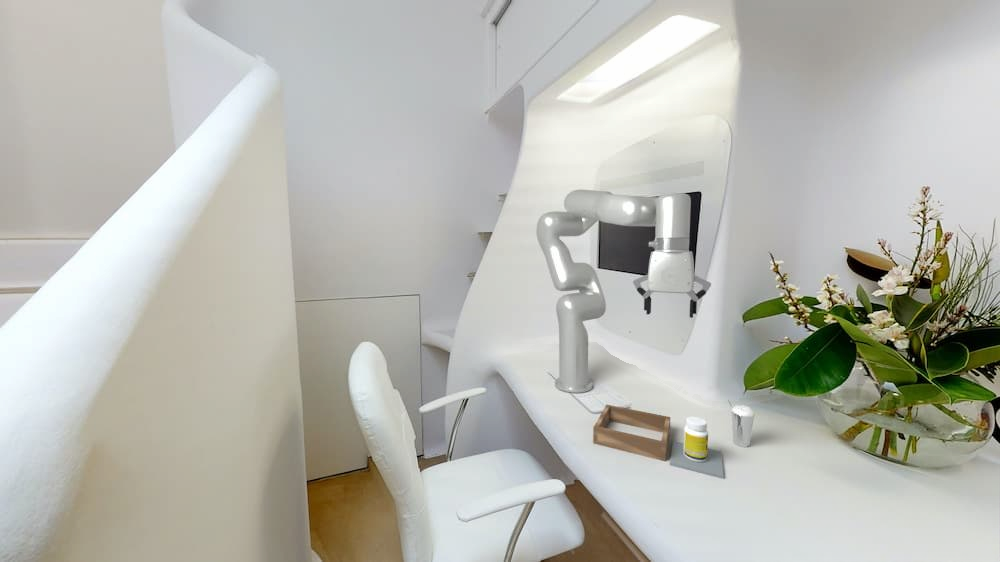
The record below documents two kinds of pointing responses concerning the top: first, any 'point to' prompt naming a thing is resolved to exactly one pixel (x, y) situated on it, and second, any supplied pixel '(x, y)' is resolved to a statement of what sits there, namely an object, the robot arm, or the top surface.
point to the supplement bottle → (695, 439)
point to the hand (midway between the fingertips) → (669, 315)
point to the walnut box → (631, 441)
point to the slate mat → (708, 467)
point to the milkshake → (742, 424)
